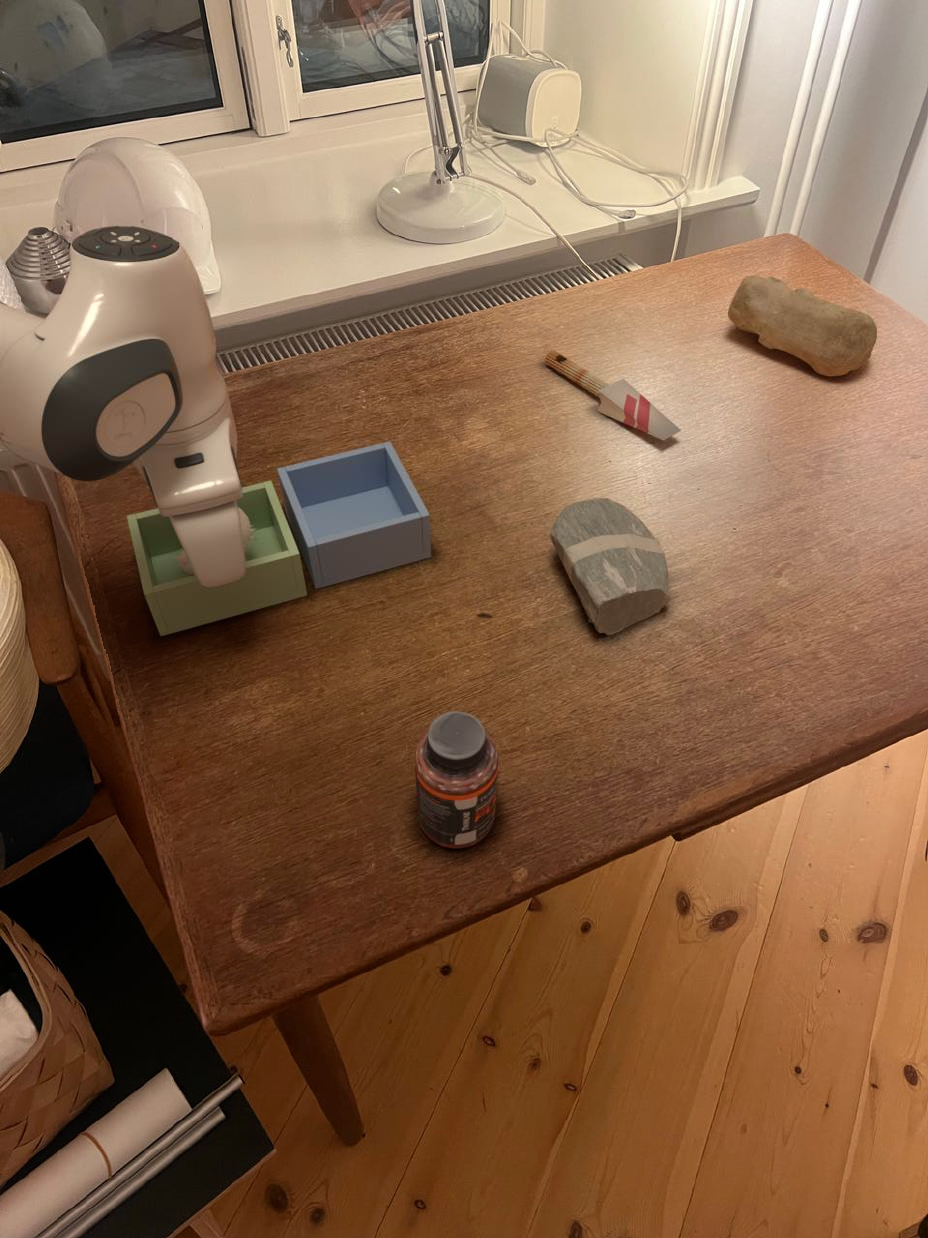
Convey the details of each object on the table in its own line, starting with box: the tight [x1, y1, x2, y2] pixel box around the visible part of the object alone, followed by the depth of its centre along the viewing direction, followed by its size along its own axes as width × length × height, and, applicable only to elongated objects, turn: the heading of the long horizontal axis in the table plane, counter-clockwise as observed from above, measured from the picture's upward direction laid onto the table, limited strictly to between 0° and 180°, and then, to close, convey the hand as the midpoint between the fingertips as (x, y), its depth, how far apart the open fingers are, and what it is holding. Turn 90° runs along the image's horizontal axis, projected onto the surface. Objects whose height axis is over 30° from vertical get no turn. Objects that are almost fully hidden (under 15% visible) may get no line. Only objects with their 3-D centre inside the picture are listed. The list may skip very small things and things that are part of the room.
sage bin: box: [126, 480, 308, 637], centre depth 85 cm, size 14×11×6 cm
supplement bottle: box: [414, 710, 499, 849], centre depth 67 cm, size 6×6×11 cm
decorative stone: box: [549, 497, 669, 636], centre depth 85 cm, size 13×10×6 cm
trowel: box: [544, 349, 682, 441], centre depth 104 cm, size 4×3×20 cm
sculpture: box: [727, 275, 878, 377], centre depth 109 cm, size 9×17×10 cm
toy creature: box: [176, 507, 257, 576], centre depth 84 cm, size 5×8×6 cm, turn 131°
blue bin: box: [276, 440, 432, 590], centre depth 89 cm, size 12×12×6 cm
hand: (213, 550), depth 85 cm, fingers closed on toy creature, 5 cm apart
